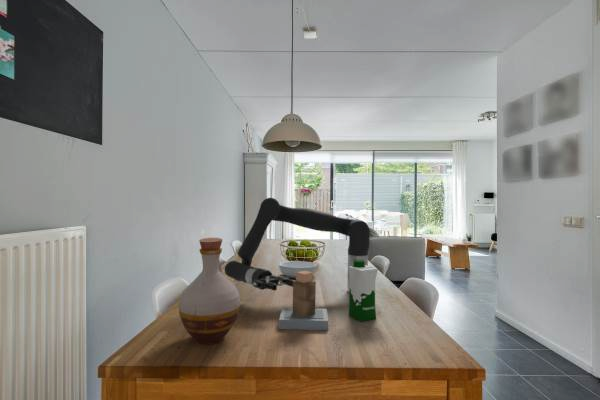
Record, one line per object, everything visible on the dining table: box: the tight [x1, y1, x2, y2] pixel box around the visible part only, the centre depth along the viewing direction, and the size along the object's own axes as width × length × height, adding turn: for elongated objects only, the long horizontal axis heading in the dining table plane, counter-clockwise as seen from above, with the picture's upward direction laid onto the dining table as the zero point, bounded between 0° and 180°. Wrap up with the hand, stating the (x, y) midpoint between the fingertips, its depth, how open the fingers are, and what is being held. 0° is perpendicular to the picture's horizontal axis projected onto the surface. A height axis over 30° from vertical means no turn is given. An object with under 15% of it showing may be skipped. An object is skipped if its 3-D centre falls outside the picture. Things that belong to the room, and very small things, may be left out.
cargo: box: [295, 271, 314, 283], centre depth 113 cm, size 4×4×3 cm
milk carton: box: [347, 260, 378, 322], centre depth 119 cm, size 9×9×20 cm
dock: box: [278, 307, 329, 331], centre depth 112 cm, size 16×12×3 cm
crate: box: [292, 279, 317, 317], centre depth 113 cm, size 6×6×11 cm
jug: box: [178, 237, 241, 345], centre depth 99 cm, size 20×18×30 cm
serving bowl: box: [278, 260, 318, 279], centre depth 183 cm, size 21×21×7 cm
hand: (285, 285), depth 120 cm, fingers open, 8 cm apart
